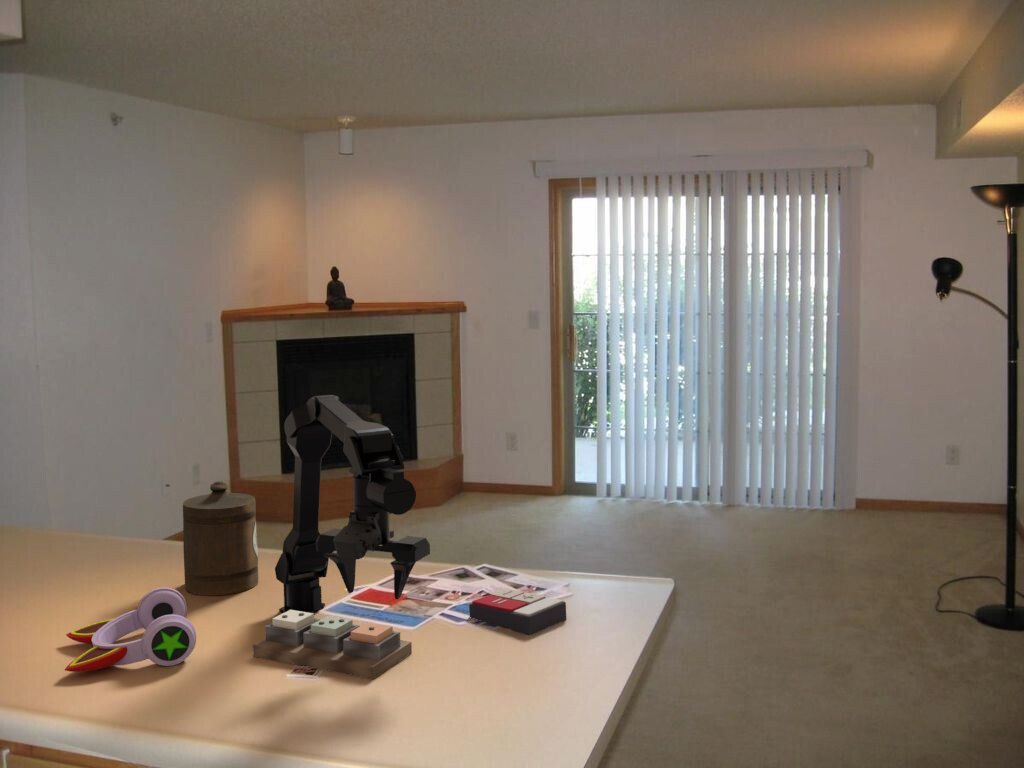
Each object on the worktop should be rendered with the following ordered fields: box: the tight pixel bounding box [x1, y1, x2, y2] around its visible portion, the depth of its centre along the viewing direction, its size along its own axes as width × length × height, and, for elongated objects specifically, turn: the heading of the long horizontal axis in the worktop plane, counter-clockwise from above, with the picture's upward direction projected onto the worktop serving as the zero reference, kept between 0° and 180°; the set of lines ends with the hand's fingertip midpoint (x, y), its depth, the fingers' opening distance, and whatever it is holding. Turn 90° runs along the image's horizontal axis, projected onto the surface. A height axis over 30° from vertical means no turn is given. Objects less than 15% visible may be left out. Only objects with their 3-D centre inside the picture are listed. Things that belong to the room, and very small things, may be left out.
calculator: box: [468, 588, 567, 636], centre depth 187 cm, size 11×4×15 cm
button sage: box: [311, 615, 354, 637], centre depth 169 cm, size 5×5×2 cm
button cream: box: [271, 610, 315, 630], centre depth 172 cm, size 5×5×2 cm
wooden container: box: [182, 480, 259, 597], centre depth 208 cm, size 15×15×22 cm
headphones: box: [64, 587, 197, 673], centre depth 171 cm, size 20×10×20 cm
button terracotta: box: [351, 621, 394, 644], centre depth 166 cm, size 5×5×2 cm
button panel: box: [252, 617, 413, 680], centre depth 169 cm, size 24×12×4 cm, turn 65°
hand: (374, 595), depth 165 cm, fingers open, 9 cm apart
